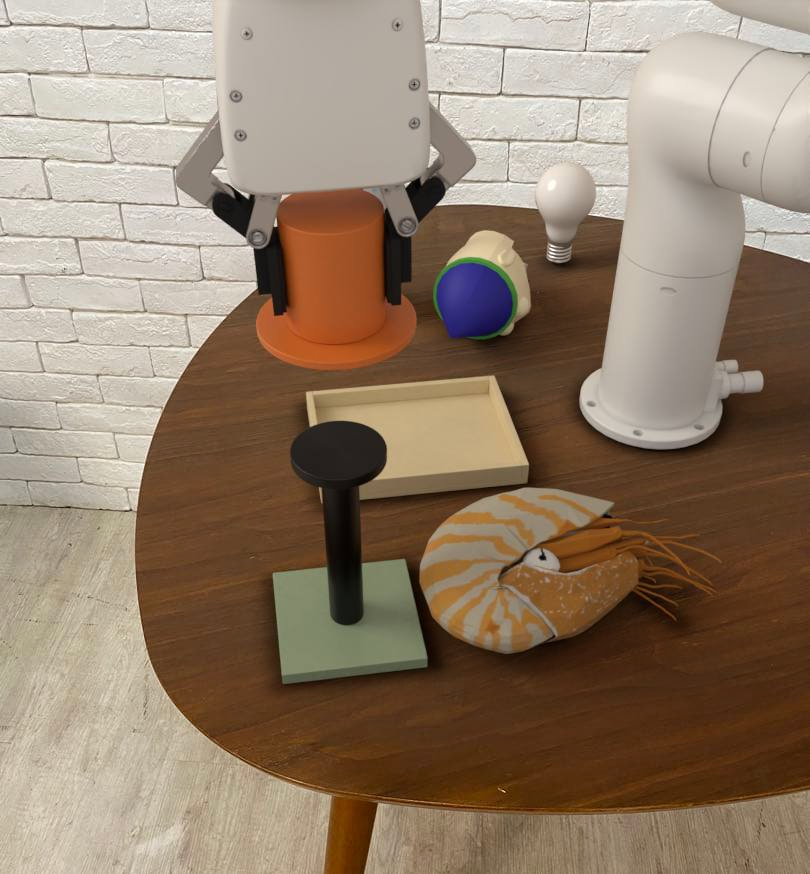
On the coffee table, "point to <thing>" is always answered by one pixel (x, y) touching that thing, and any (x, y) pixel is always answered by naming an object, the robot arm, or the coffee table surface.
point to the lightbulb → (564, 206)
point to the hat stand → (344, 572)
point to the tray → (431, 434)
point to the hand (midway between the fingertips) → (335, 295)
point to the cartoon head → (483, 288)
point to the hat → (334, 285)
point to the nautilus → (536, 568)
